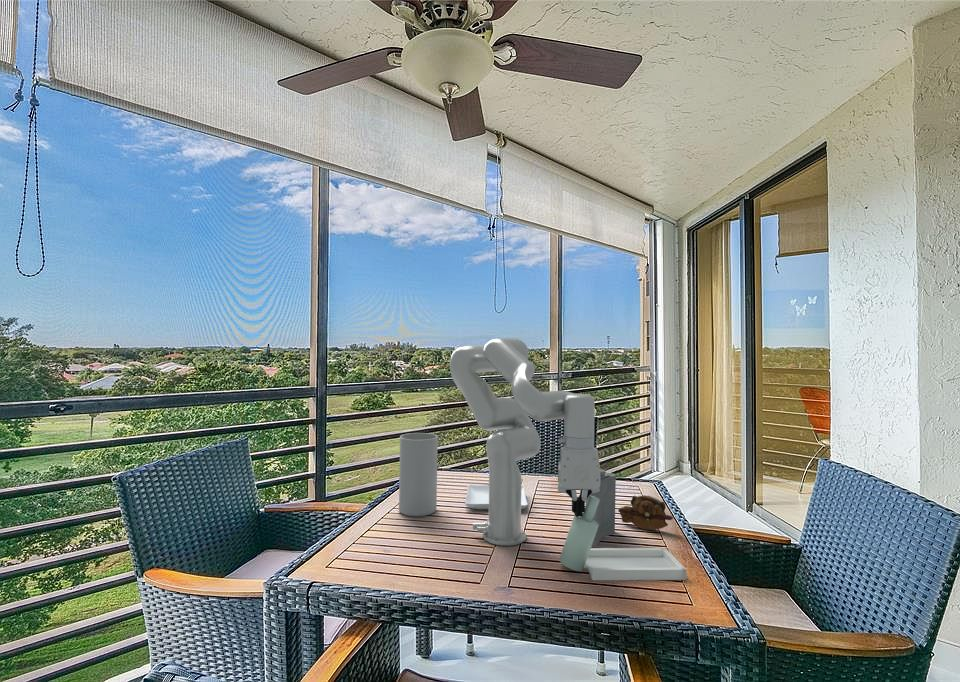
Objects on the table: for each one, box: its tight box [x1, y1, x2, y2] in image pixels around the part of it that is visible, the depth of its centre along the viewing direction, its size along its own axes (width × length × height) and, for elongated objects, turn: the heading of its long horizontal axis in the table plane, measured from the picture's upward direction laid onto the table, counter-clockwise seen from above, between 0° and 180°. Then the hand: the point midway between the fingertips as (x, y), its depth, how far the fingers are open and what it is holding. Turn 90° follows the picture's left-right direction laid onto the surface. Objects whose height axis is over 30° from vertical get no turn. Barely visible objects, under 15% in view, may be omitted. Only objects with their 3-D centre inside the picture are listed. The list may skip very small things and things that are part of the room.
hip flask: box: [585, 468, 617, 548], centre depth 150 cm, size 16×4×20 cm, turn 142°
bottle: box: [558, 495, 600, 572], centre depth 130 cm, size 6×6×18 cm
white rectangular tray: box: [584, 547, 688, 581], centre depth 130 cm, size 23×13×2 cm, turn 93°
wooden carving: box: [618, 495, 675, 531], centre depth 158 cm, size 16×5×10 cm, turn 64°
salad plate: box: [464, 484, 529, 511], centre depth 181 cm, size 21×21×3 cm
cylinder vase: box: [398, 432, 439, 518], centre depth 171 cm, size 12×12×25 cm
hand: (578, 514), depth 129 cm, fingers closed
